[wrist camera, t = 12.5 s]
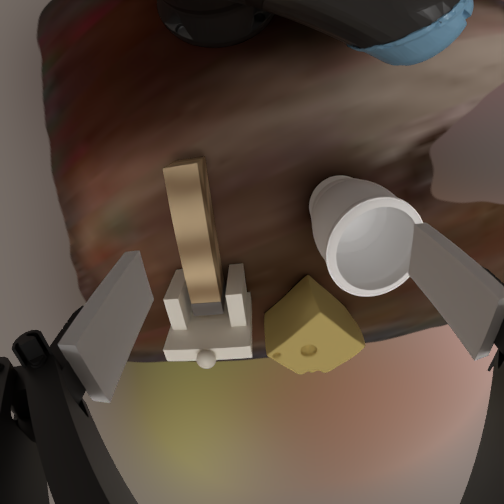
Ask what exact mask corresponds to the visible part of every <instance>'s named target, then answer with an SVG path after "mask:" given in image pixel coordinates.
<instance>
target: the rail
mask: <svg viewBox="0 0 504 504" xmlns="http://www.w3.org/2000/svg"><path fill="white" fill-rule="evenodd" d="M163 173H164V179H165V185H166V190H167V196H168V201H169V206H170V211H171V216H172V221H173V226H174V231H175V236H176V240H177V245H178V250H179V254H180V259H181V263H182V267H183V272H184V276H185V280H186V284H187V288H188V292H189V296H190V300H191V307H192V311H193V314H194V316H203V315H218V314H223V313H224V305H225V294H226V285H225V280H224V276H223V270H222V264H221V258H220V252H219V246H218V240H217V234H216V227H215V221H214V214H213V208H212V201H211V195H210V188H209V181H208V174H207V167H206V160H205V156H203V157H196V158H190V159H183V160H177V161H174V162H172V163H171V164H169V165H168V166H166V167H164V168H163Z"/></svg>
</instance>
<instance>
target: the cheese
mask: <svg viewBox="0 0 504 504" xmlns="http://www.w3.org/2000/svg"><path fill="white" fill-rule="evenodd" d="M264 329H265V344H266V352H267V356H268V357H270V358H272V359H273V360H275V361H277V362H278V363H280V364H282V365H283V366H285V367H286V368H288V369H290V370H292V371H293V372H295V373H297V374H303V373H306V372H307V371H309V372H311V373H313V372H315V371H318V370H319V371H322V372H323V373H325V372H329V371H331V370H333V369H334V368H336V367H337V366H339V365H341V364H342V363H344V362H346V361H347V360H349V359H351V358H352V357H354V356H355V355H356V354H358V353H359V352H360V351H361V350H362V349H363V348H364V347H365V342H364V338H363V335H362V332H361V330H360V328H359V326H358V325H357V323H356V322H355V320H354V319H353V318H352V316H351V315H350V314H349V312H348V311H347V309H346V307H345V306H344V305H342V304H341V303H340V302H339V301H338V300H337V299H336V298H335V297H334V296H333V295H332V294H330V293H329V292H328V291H327V290H326V289H324V288H323V287H322V286H321V285H320V284H318V283H317V282H316V281H315V280H314V279H313V278H311V277H310V276H309V275H307V276H305V277H304V278H303V279H302V280H301V281H300V282H299V283H298V284H297V285H295V286H294V287H293V288H292V289H291V290H290V291H289V292H288V293H287V294H286V295H285V296H284V297H283V298H282V299H281V300H280V301H279V302H278V303H276V304H275V305H274V306H273V307H272V308H271V309H269V310H268V311H267V312H266V313H265V316H264Z"/></svg>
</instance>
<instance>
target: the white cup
mask: <svg viewBox="0 0 504 504" xmlns="http://www.w3.org/2000/svg"><path fill="white" fill-rule="evenodd" d="M309 211H310V215H311V221H312V231H313V236H314V240H315V243H316V246H317V248H318V250H319V252H320V254H321V255H322V257H323V258H324V260H325V261H326V265H327V268H328V271H329V273H330V275H331V277H332V279H333V280H334V282H335V283H336V284H337V285H338V286H339V287H340V288H341V289H343V290H344V291H346V292H348V293H350V294H353V295H357V296H377V295H381V294H384V293H387V292H389V291H391V290H393V289H395V288H397V287H398V286H400V285H401V284H402V283H403V282H405V281H406V280H407V279H408V278H409V277H410V276H409V274H408V271H409V264H410V257H411V249H412V241H413V231H414V224H420V223H423V222H422V219H421V217H420V216H419V214H418V213H417V211H416V210H415V209H414V208H413V207H412V206H411V205H410V204H408V203H407V202H405V201H404V200H402V199H400V198H397V197H396V196H395V195H393V194H392V193H391V192H390V191H388V190H387V189H386V188H384V187H382V186H380V185H378V184H376V183H373V182H370V181H367V180H360V179H356V178H352V177H349V176H344V175H337V176H332V177H329V178H327V179H325V180H324V181H322V182H321V183H320V184H319V185H318V186H317V187H316V188H315V189H314V191H313V193H312V195H311V197H310V202H309Z"/></svg>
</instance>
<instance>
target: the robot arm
mask: <svg viewBox="0 0 504 504" xmlns="http://www.w3.org/2000/svg"><path fill="white" fill-rule="evenodd" d="M157 9H158V13H159V16H160V18H161V20H162V22H163V23H164V25H165V26H166V27H167V28H168V29H169V30H170V31H171V32H172V33H173V34H174V35H175V36H177V37H178V38H179V39H181V40H183V41H185V42H187V43H190V44H193V45H196V46H201V47H212V48H215V47H226V46H231V45H235V44H238V43H241V42H244V41H246V40H248V39H250V38H252V37H254V36H255V35H257V34H258V33H259V32H261V31H262V30H263V29H264V28H265V27H266V26H267V25H268V24H269V22H270V21H271V20H272V18H273V16H274V14H275V15H278V16H281V17H284V18H287V19H290V20H292V21H295V22H297V23H300V24H303V25H305V26H308V27H310V28H312V29H315V30H317V31H319V32H322V33H324V34H326V35H329V36H331V37H333V38H335V39H337V40H339V41H341V42H343V43H346V45H347V46H348V47H350V48H352V49H354V50H357V51H362V52H365V53H367V54H369V55H371V56H373V57H375V58H377V59H379V60H381V61H383V62H385V63H388V64H391V65H405V66H408V65H414V64H417V63H420V62H423V61H426V60H428V59H430V58H432V57H433V56H435V55H437V54H438V53H440V52H441V51H443V50H444V49H445V48H447V47H448V46H449V45H450V44H451V43H452V42H453V41H454V40H455V39H456V38H457V37H458V36H459V35H460V34H461V32H462V31H463V29H464V28H465V26H466V25H467V23H466V21H465V19H466V18H468V17H470V16H471V14H472V11H473V0H157ZM408 274H409V276H410V277H411V278H412V279H413V280H414V282H415V283H416V284H417V285H418V286H419V288H420V289H421V290H422V291H423V293H424V294H425V295H426V296H427V297H428V299H429V300H430V301H431V303H432V304H433V305H434V306H435V308H436V309H437V310H438V311H439V313H440V314H441V315H442V317H443V318H444V319H445V321H446V322H447V323H448V325H449V326H450V327H451V328H452V330H453V331H454V333H455V334H456V335H457V337H458V338H459V339H460V341H461V342H462V344H463V345H464V346H465V348H466V349H467V351H468V352H469V353H470V355H471V356H472V358H473V359H474V360H478V359H480V358H483V357H486V356H488V355H489V353H490V351H491V348H492V346H493V344H495V345H496V346H497V348H498V350H497V352H496V354H495V356H494V358H493V360H492V362H491V364H490V366H489V368H488V371H490V370H491V368H492V367H493V366H494V370H493V379H492V386H491V393H490V399H489V405H488V410H487V415H486V420H485V425H484V429H483V434H482V438H481V442H480V445H479V449H478V453H477V457H476V460H475V463H474V466H473V469H472V473H471V475H470V478H469V481H468V485H467V487H466V490H465V492H464V495H463V497H462V500H461V503H460V504H504V283H503V282H501V281H500V280H499V279H498V278H497V277H495V275H494V274H492V273H491V272H490V271H489V270H488V269H486V268H484V267H482V266H480V265H479V264H478V263H477V262H476V261H474V260H473V259H472V258H471V257H470V256H468V255H467V254H466V253H465V252H464V251H462V250H461V249H460V248H459V247H457V246H456V245H455V244H454V243H452V242H451V241H450V240H449V239H447V238H446V237H445V236H443V235H442V234H441V233H439V232H438V231H437V230H436V229H434V228H433V227H432V226H430V225H429V224H427V223H420V224H414V231H413V241H412V249H411V257H410V264H409V271H408ZM153 300H154V299H153V295H152V292H151V289H150V286H149V282H148V279H147V276H146V272H145V269H144V265H143V262H142V258H141V254H140V251H131V252H125V253H124V254H123V256H122V257H121V258H120V259H119V261H118V262H117V263H116V264H115V266H114V267H113V268H112V269H111V271H110V272H109V273H108V275H107V276H106V277H105V279H104V280H103V281H102V282H101V284H100V285H99V286H98V288H97V289H96V290H95V292H94V293H93V294H92V296H91V297H90V298H89V300H88V301H87V303H86V304H85V305H84V306H81V307H80V308H79V309H78V310H77V311H75V312H74V313H73V314H72V316H71V317H70V318H69V320H68V323H66V324H65V325H64V327H63V329H62V330H61V331H60V333H59V334H58V336H57V337H56V338H55V340H54V341H53V343H52V344H51V346H50V347H49V345H48V344H47V342H46V340H45V338H44V336H43V334H42V333H41V331H38V330H31V331H28V332H25V333H24V334H22V335H21V336H19V337H18V338H17V339H16V340H15V342H14V343H13V346H12V350H13V352H14V354H15V355H16V357H17V358H18V360H19V361H20V363H21V365H22V366H17V367H13V366H12V364H11V362H10V361H9V359H8V358H6V357H0V504H49V496H48V488H47V482H48V485H49V488H50V491H51V494H52V497H53V499H54V502H55V504H138V503H137V501H136V500H135V498H134V497H133V495H132V493H131V492H130V490H129V488H128V487H127V485H126V484H125V482H124V480H123V478H122V476H121V475H120V473H119V471H118V469H117V468H116V466H115V464H114V462H113V460H112V458H111V456H110V454H109V452H108V450H107V448H106V446H105V445H104V442H103V440H102V438H101V436H100V434H99V432H98V430H97V428H96V425H95V423H94V421H93V419H92V416H91V414H90V411H89V409H88V407H87V404H86V402H85V401H84V400H83V398H82V397H83V395H84V393H85V391H87V393H88V394H89V396H90V397H91V399H92V400H93V401H100V402H108V403H110V402H111V399H112V397H113V394H114V391H115V389H116V386H117V384H118V381H119V379H120V376H121V374H122V371H123V369H124V366H125V364H126V362H127V359H128V357H129V355H130V352H131V350H132V347H133V345H134V343H135V340H136V338H137V336H138V334H139V331H140V329H141V327H142V325H143V322H144V320H145V318H146V316H147V313H148V311H149V309H150V307H151V305H152V302H153ZM11 411H12V412H13V413H14V419H12V417H11Z"/></svg>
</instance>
